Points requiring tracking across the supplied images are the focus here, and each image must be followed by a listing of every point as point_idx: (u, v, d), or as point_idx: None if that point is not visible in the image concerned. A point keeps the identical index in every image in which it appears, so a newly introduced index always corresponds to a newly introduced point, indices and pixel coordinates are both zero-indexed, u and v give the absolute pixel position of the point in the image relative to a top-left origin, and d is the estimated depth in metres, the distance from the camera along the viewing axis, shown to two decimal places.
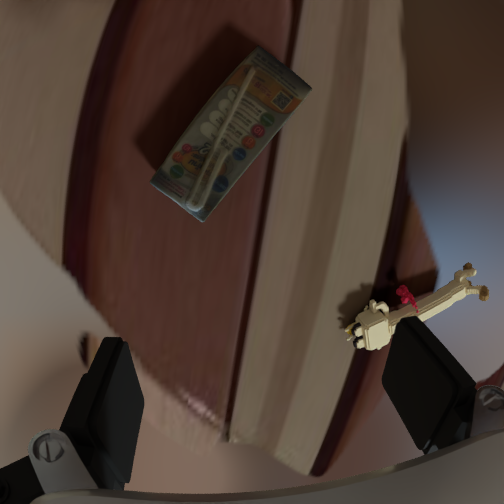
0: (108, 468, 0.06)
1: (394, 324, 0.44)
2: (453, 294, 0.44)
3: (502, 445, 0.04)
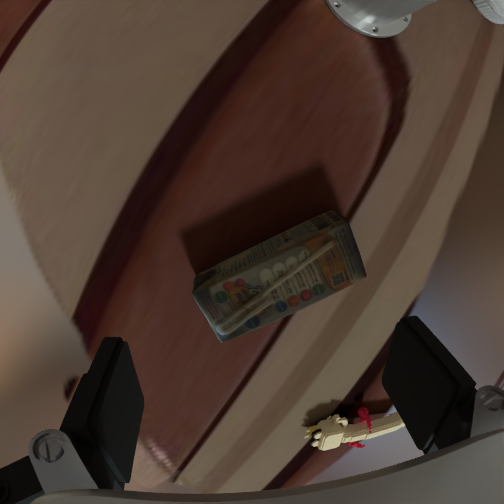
0: (108, 468, 0.06)
1: (348, 436, 0.49)
2: (402, 422, 0.50)
3: (502, 445, 0.04)
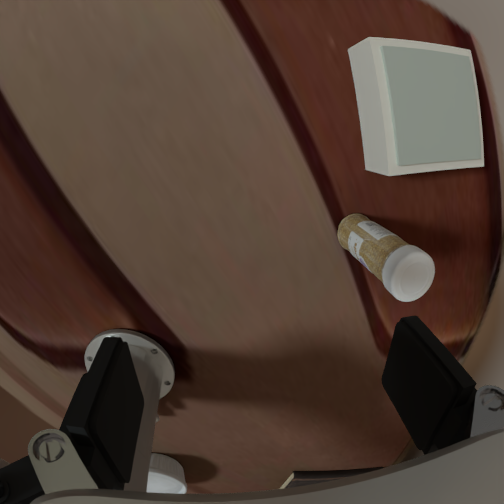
0: (108, 469, 0.06)
1: None
2: None
3: (502, 445, 0.04)
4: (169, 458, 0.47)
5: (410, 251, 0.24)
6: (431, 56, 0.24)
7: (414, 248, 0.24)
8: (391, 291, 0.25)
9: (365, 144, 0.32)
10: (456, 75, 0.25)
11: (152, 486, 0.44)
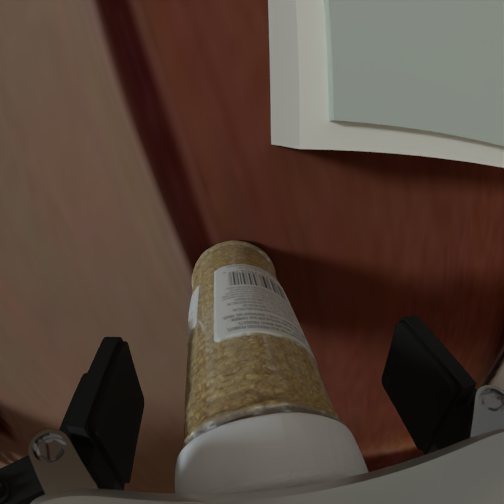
0: (108, 469, 0.06)
1: None
2: None
3: (502, 445, 0.04)
4: None
5: (266, 466, 0.05)
6: None
7: (297, 444, 0.05)
8: None
9: (272, 84, 0.14)
10: None
11: None
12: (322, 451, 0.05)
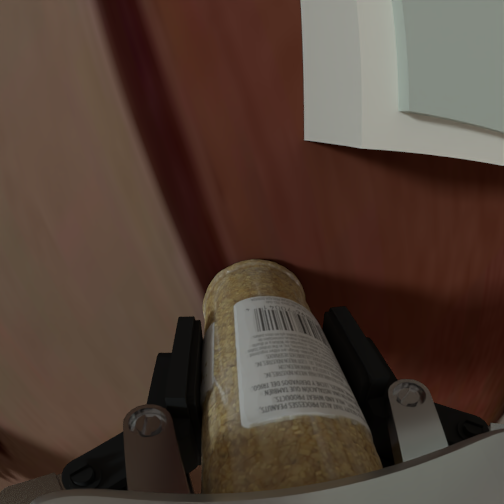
0: (195, 441, 0.08)
1: None
2: None
3: (502, 445, 0.04)
4: None
5: None
6: None
7: None
8: None
9: (308, 64, 0.10)
10: None
11: None
12: None
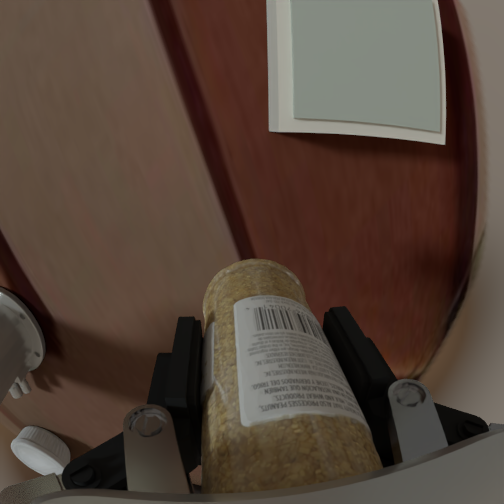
0: (195, 441, 0.08)
1: None
2: None
3: (502, 445, 0.04)
4: (54, 437, 0.39)
5: None
6: None
7: None
8: None
9: (269, 97, 0.25)
10: (407, 15, 0.18)
11: (35, 461, 0.36)
12: None
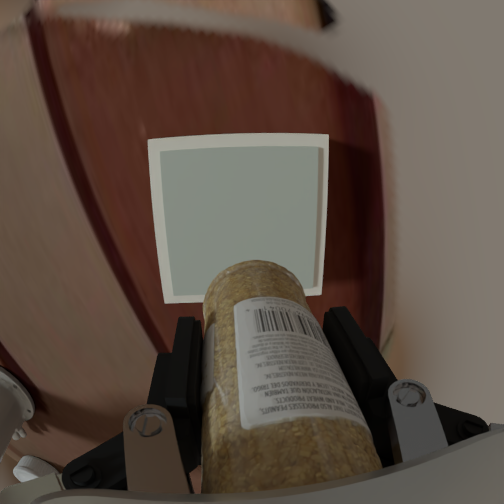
0: (195, 441, 0.08)
1: None
2: None
3: (502, 445, 0.04)
4: (47, 464, 0.45)
5: None
6: (239, 156, 0.24)
7: None
8: None
9: None
10: (283, 179, 0.24)
11: None
12: None
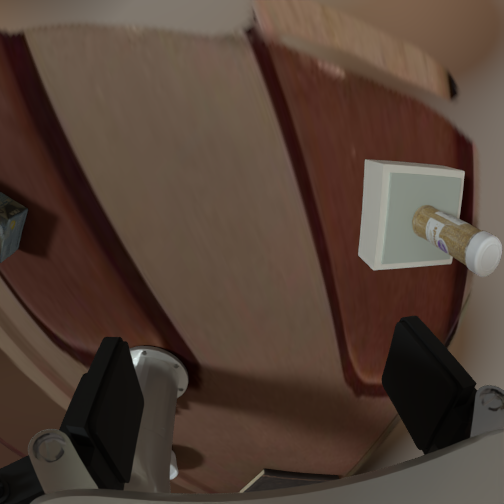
0: (108, 469, 0.06)
1: None
2: None
3: (502, 445, 0.04)
4: None
5: (490, 235, 0.26)
6: (428, 180, 0.37)
7: None
8: (473, 265, 0.27)
9: (362, 237, 0.45)
10: (445, 195, 0.38)
11: None
12: None
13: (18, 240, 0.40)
